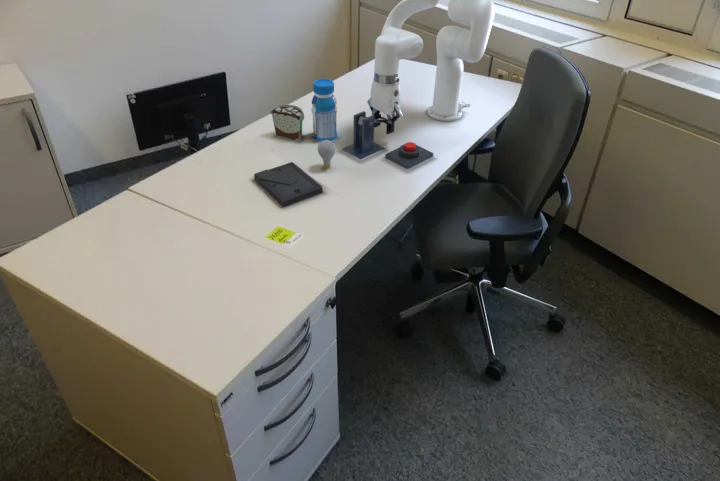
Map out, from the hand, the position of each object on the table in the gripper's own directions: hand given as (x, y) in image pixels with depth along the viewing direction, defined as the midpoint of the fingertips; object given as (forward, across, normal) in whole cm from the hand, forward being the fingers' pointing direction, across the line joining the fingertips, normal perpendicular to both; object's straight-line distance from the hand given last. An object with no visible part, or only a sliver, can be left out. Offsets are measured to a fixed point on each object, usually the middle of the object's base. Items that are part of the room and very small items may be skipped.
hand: (383, 129), depth 182 cm
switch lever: (-3, 0, +5) cm, 6 cm away
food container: (+5, +25, +20) cm, 32 cm away
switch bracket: (+5, 0, +9) cm, 10 cm away
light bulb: (+5, -1, +26) cm, 26 cm away
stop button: (+1, -14, +2) cm, 14 cm away
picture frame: (+6, 0, +40) cm, 41 cm away
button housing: (+5, -14, +2) cm, 15 cm away
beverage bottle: (+5, +15, +13) cm, 21 cm away
